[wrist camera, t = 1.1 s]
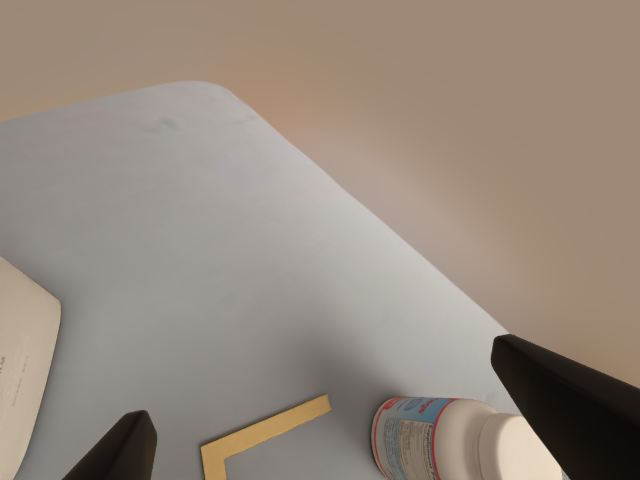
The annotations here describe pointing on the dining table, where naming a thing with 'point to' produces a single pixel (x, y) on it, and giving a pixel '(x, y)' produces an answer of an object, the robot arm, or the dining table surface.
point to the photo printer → (22, 360)
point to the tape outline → (257, 435)
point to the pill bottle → (457, 442)
